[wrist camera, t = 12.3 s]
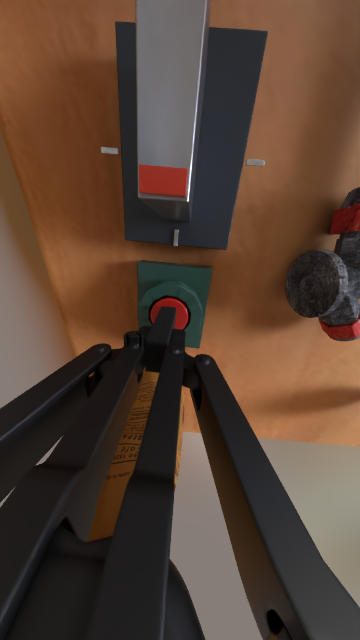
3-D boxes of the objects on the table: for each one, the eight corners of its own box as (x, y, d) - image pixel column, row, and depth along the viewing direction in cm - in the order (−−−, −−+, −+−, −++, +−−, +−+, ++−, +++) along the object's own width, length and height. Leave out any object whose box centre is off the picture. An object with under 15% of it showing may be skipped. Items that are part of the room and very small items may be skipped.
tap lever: (169, 70, 12) (128, -248, 4) (205, 73, 11) (229, -246, 4) (163, 219, 15) (135, 196, 8) (190, 222, 15) (188, 201, 8)
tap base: (108, 56, 13) (89, 13, 11) (276, 67, 13) (295, 25, 10) (119, 240, 19) (108, 239, 16) (236, 251, 18) (243, 252, 16)
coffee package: (134, 412, 31) (28, 723, 11) (117, 358, 26) (-143, 754, 6) (188, 412, 30) (178, 755, 10) (180, 355, 25) (130, 828, 5)
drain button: (154, 292, 18) (150, 297, 17) (190, 296, 18) (189, 301, 17) (153, 324, 20) (150, 331, 18) (186, 328, 20) (185, 335, 18)
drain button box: (142, 260, 19) (130, 263, 16) (210, 266, 19) (214, 272, 16) (143, 334, 24) (133, 350, 20) (198, 340, 23) (200, 358, 20)
